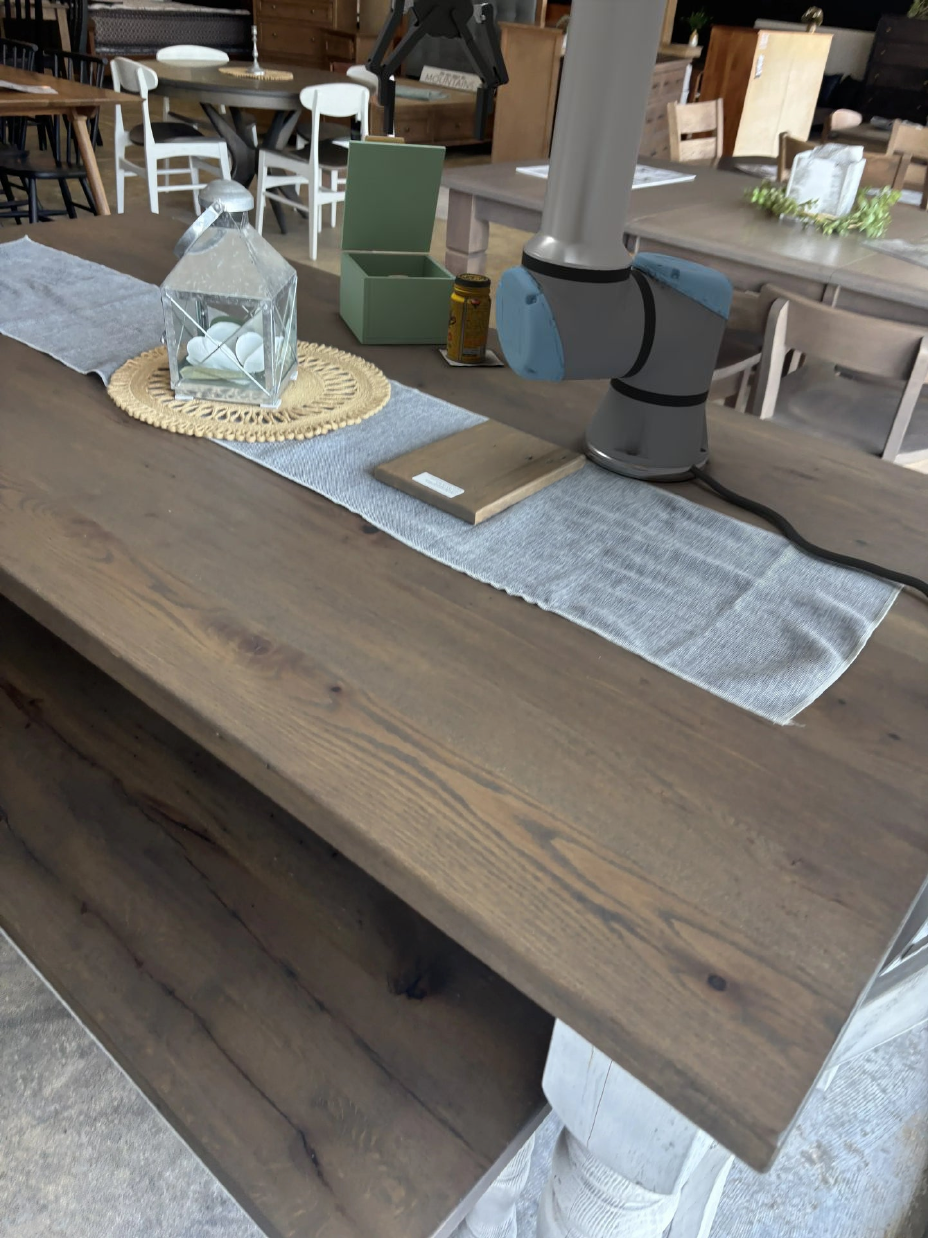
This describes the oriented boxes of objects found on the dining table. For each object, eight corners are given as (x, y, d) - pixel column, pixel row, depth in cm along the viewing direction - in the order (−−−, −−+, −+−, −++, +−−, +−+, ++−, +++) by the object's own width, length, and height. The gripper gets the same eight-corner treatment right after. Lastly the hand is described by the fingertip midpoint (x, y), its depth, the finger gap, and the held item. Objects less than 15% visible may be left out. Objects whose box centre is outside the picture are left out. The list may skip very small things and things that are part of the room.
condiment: (438, 350, 140) (445, 269, 134) (490, 351, 142) (499, 271, 136) (450, 366, 134) (457, 283, 128) (504, 366, 137) (514, 284, 130)
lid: (445, 148, 138) (430, 123, 143) (350, 142, 133) (338, 117, 138) (429, 252, 150) (416, 226, 155) (341, 250, 145) (330, 223, 150)
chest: (453, 343, 144) (458, 279, 138) (361, 344, 139) (364, 277, 134) (424, 314, 156) (428, 254, 150) (339, 314, 151) (340, 251, 146)
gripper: (522, -35, 125) (504, 138, 136) (345, -59, 117) (342, 127, 128) (545, -36, 119) (524, 145, 131) (360, -62, 111) (355, 134, 122)
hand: (434, 136), depth 129 cm, fingers open, 13 cm apart
